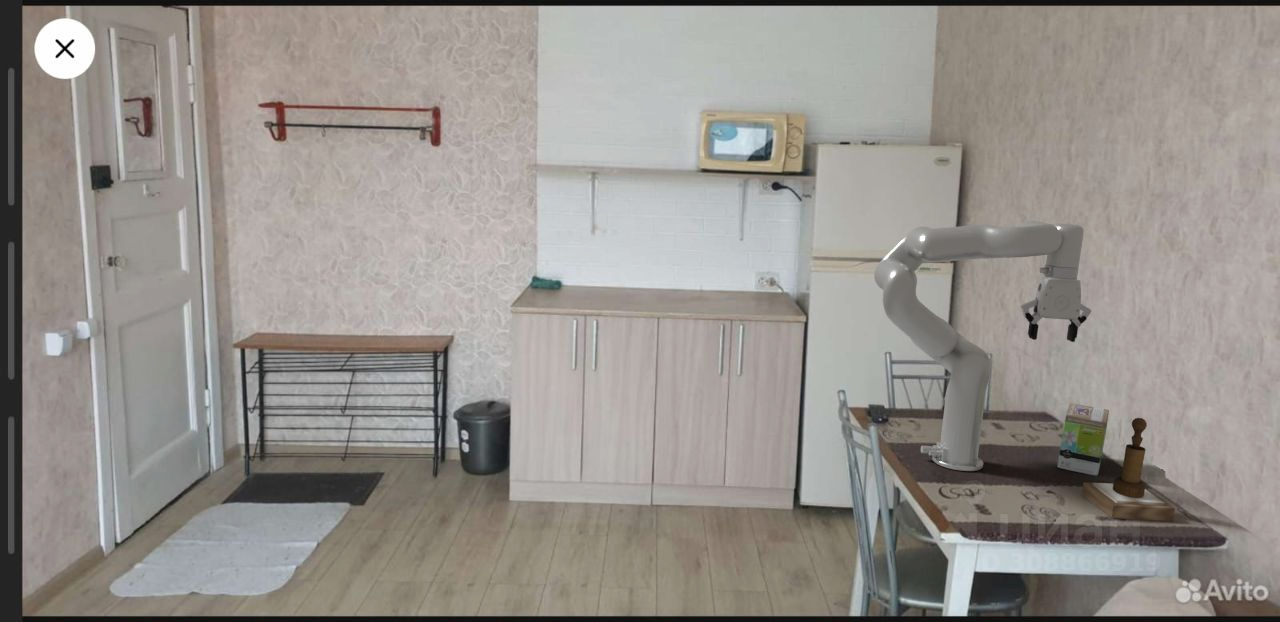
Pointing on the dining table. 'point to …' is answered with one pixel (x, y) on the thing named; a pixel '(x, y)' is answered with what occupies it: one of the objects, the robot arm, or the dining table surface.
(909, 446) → the dining table surface
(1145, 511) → the plinth
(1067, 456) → the tea box
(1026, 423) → the dining table surface
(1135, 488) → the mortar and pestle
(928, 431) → the dining table surface
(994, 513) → the dining table surface
